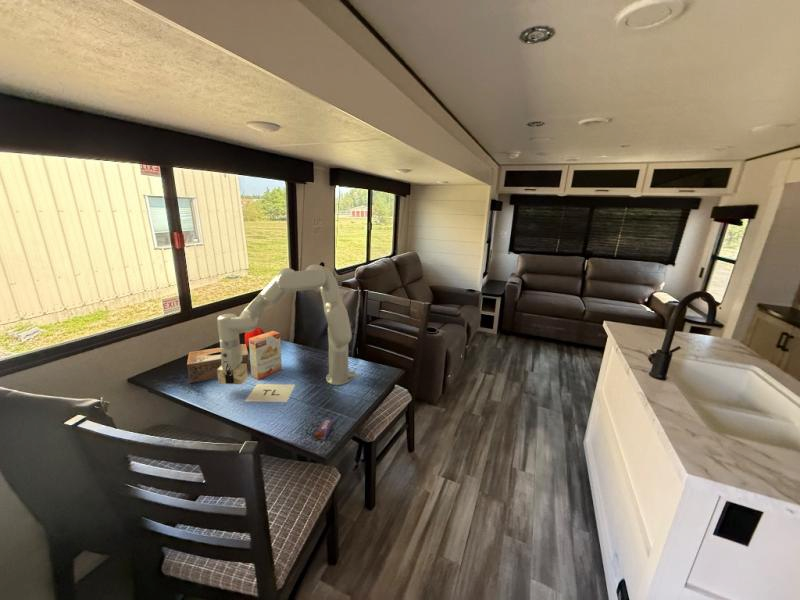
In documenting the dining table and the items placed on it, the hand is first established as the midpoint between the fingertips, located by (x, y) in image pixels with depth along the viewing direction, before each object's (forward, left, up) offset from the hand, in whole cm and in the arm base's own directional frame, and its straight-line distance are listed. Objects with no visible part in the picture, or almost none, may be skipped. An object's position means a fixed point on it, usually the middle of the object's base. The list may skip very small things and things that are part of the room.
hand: (233, 378), depth 137 cm
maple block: (0, 0, -1) cm, 1 cm away
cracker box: (-8, -18, -7) cm, 21 cm away
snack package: (-45, +25, -8) cm, 52 cm away
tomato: (+9, -48, -7) cm, 49 cm away
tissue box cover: (+16, -20, -8) cm, 27 cm away
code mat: (-16, 0, -7) cm, 18 cm away
